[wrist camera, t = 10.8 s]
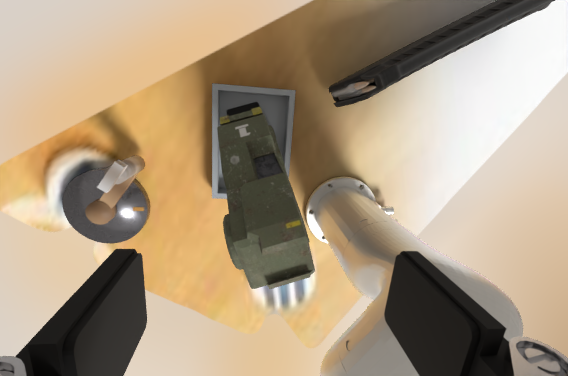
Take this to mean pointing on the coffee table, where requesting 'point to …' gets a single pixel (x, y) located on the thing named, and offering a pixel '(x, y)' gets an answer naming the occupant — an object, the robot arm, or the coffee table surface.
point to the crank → (113, 188)
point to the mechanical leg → (260, 202)
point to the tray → (273, 106)
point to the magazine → (431, 49)
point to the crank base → (129, 207)
